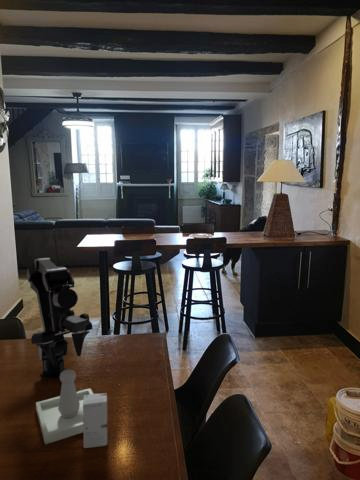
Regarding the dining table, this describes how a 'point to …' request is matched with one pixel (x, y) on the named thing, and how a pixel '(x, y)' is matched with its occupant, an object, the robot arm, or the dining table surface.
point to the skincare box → (95, 420)
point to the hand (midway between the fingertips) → (67, 360)
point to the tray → (59, 419)
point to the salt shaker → (68, 395)
